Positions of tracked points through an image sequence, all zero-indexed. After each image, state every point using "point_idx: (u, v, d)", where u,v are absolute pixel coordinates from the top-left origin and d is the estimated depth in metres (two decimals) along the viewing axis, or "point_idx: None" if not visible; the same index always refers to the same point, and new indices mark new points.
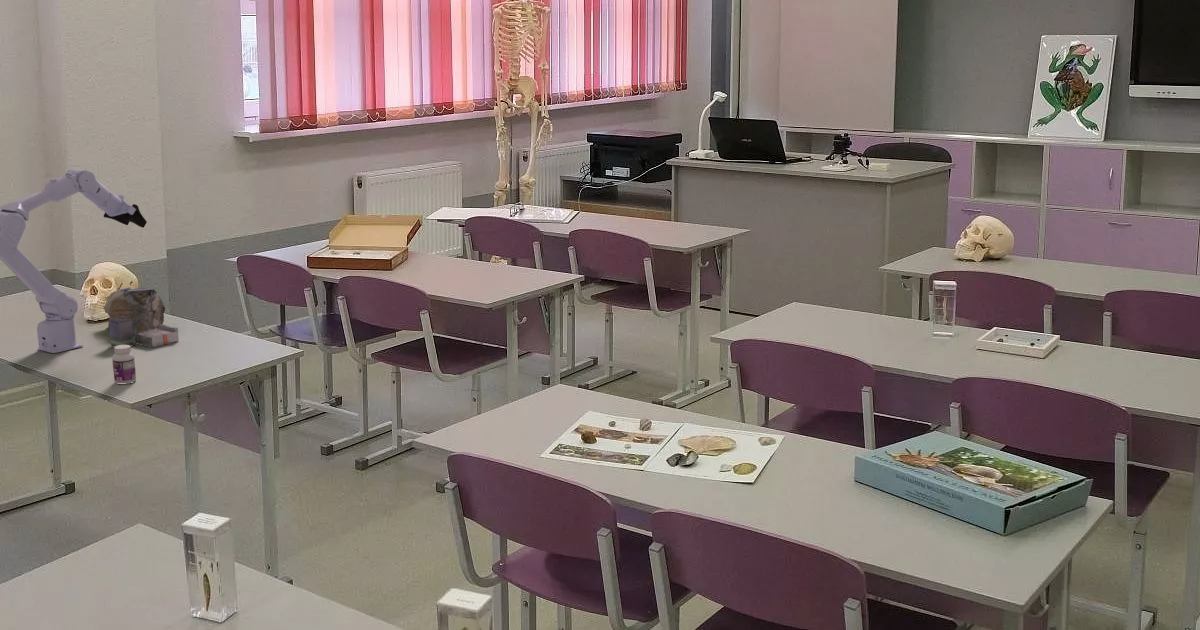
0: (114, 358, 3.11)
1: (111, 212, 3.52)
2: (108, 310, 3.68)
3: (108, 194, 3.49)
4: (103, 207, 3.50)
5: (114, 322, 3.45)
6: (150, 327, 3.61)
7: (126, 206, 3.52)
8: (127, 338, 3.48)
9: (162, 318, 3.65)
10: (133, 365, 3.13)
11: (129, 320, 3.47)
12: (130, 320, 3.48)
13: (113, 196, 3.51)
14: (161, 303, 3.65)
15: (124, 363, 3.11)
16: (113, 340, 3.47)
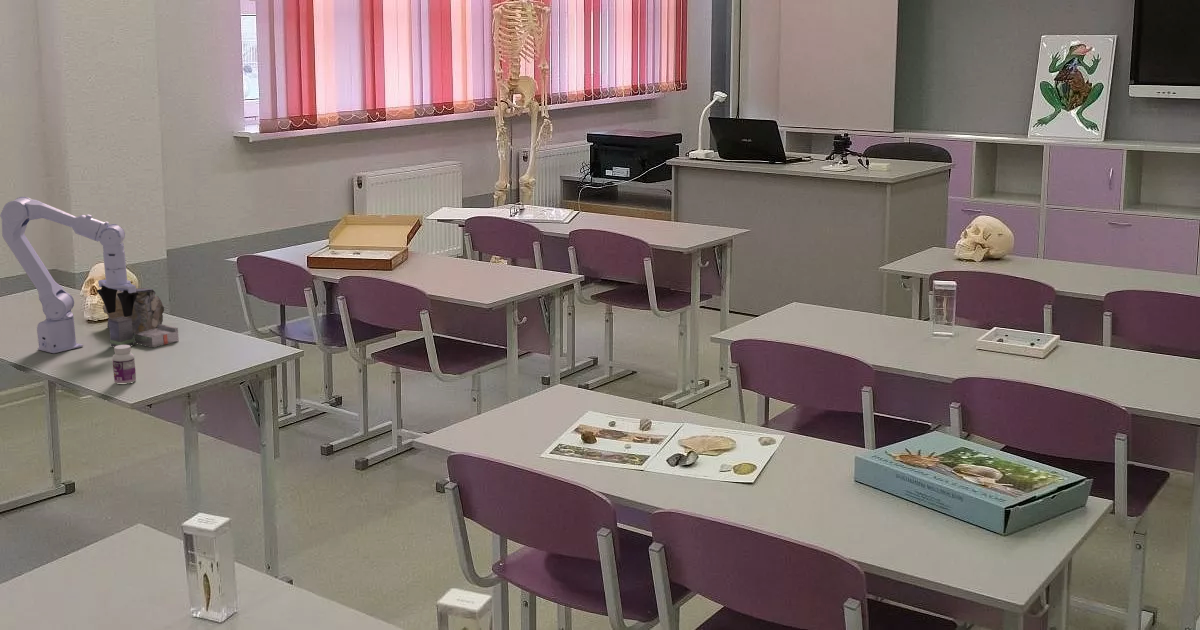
0: (114, 358, 3.11)
1: (112, 282, 3.42)
2: None
3: (116, 266, 3.41)
4: (110, 272, 3.41)
5: (114, 322, 3.45)
6: (149, 328, 3.61)
7: None
8: (127, 338, 3.48)
9: (161, 318, 3.65)
10: (133, 365, 3.13)
11: (129, 320, 3.47)
12: (130, 320, 3.48)
13: (125, 271, 3.44)
14: (160, 303, 3.64)
15: (124, 363, 3.11)
16: (113, 340, 3.47)
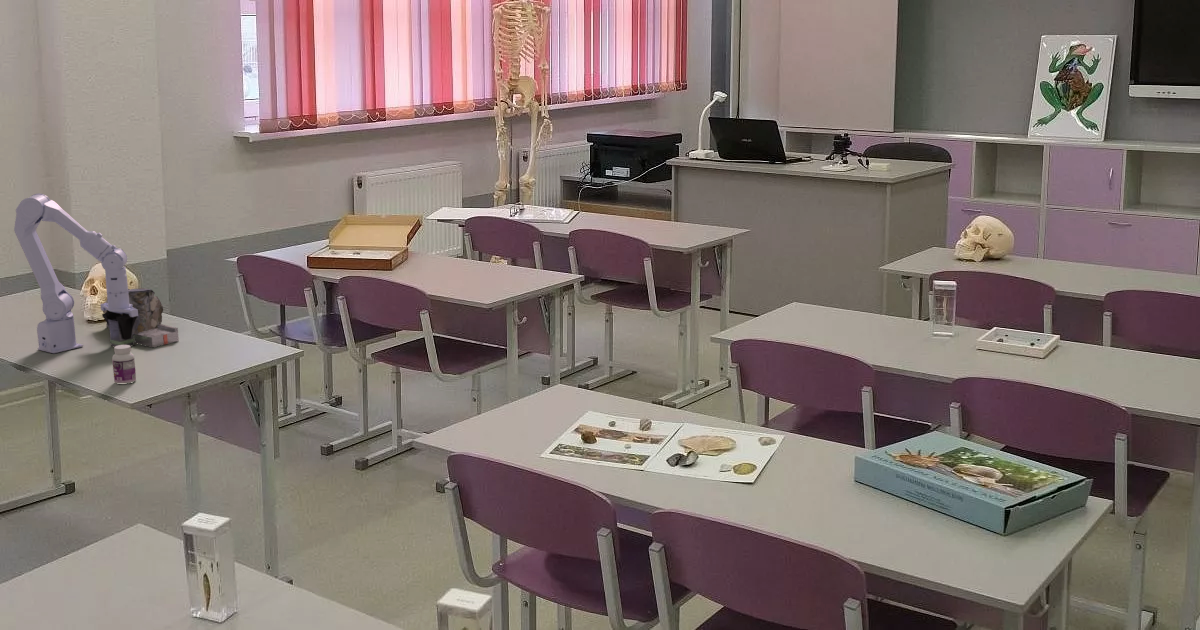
0: (114, 358, 3.11)
1: (114, 306, 3.44)
2: None
3: (118, 290, 3.43)
4: (112, 296, 3.43)
5: (114, 322, 3.45)
6: (148, 328, 3.61)
7: (131, 309, 3.44)
8: None
9: (160, 318, 3.65)
10: (133, 365, 3.13)
11: None
12: None
13: (127, 295, 3.46)
14: (159, 303, 3.64)
15: (124, 363, 3.11)
16: (113, 340, 3.47)
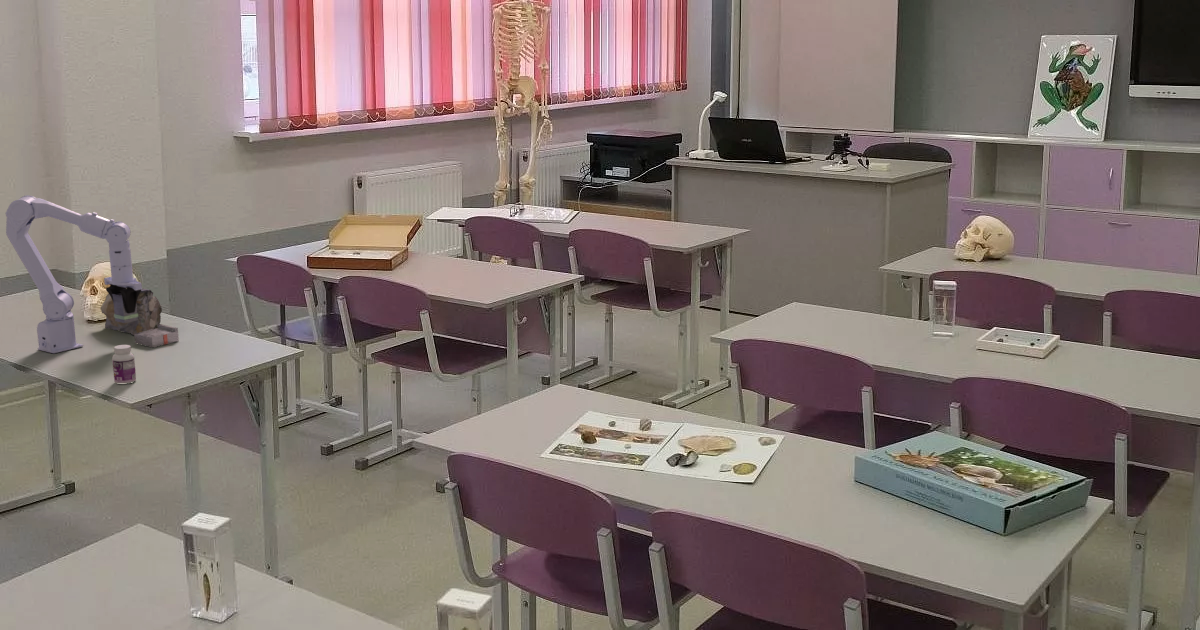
0: (114, 358, 3.11)
1: (118, 280, 3.42)
2: (105, 311, 3.67)
3: (122, 263, 3.42)
4: (115, 270, 3.42)
5: (118, 296, 3.44)
6: (146, 328, 3.60)
7: (135, 282, 3.43)
8: (131, 313, 3.47)
9: (159, 319, 3.64)
10: (133, 365, 3.13)
11: None
12: None
13: (131, 268, 3.44)
14: (158, 304, 3.64)
15: (124, 363, 3.11)
16: (117, 315, 3.46)
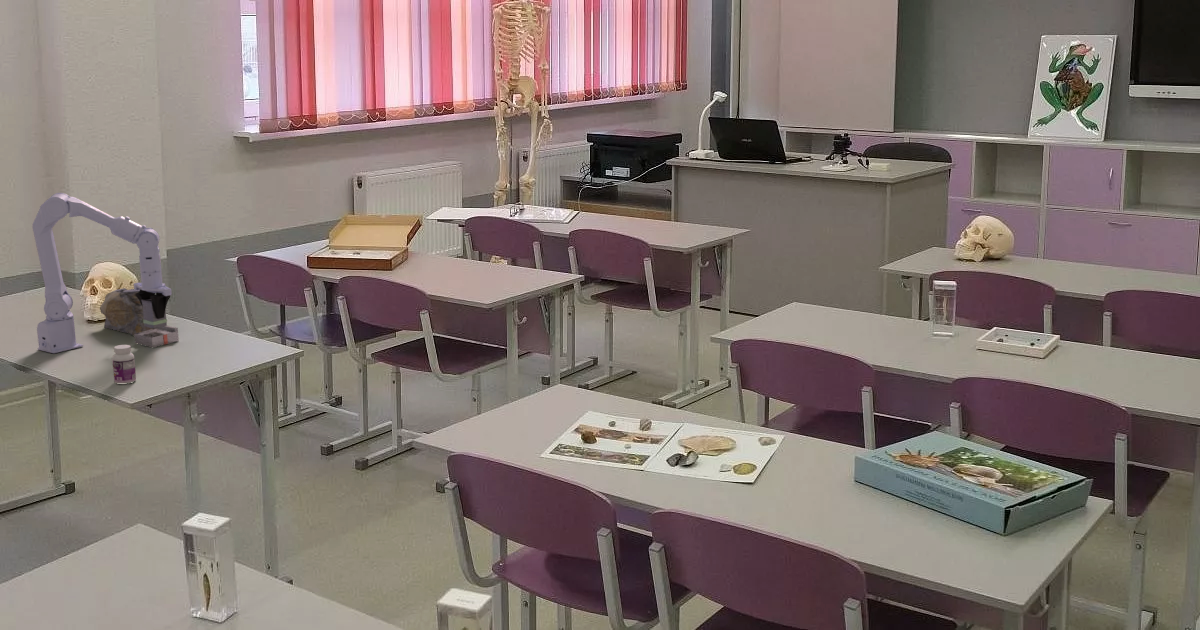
0: (114, 358, 3.11)
1: (148, 285, 3.46)
2: (104, 311, 3.67)
3: (153, 269, 3.45)
4: (146, 276, 3.46)
5: (147, 302, 3.48)
6: (146, 328, 3.60)
7: None
8: (160, 318, 3.50)
9: None
10: (133, 365, 3.13)
11: None
12: None
13: (160, 274, 3.48)
14: None
15: (124, 363, 3.11)
16: (146, 320, 3.50)
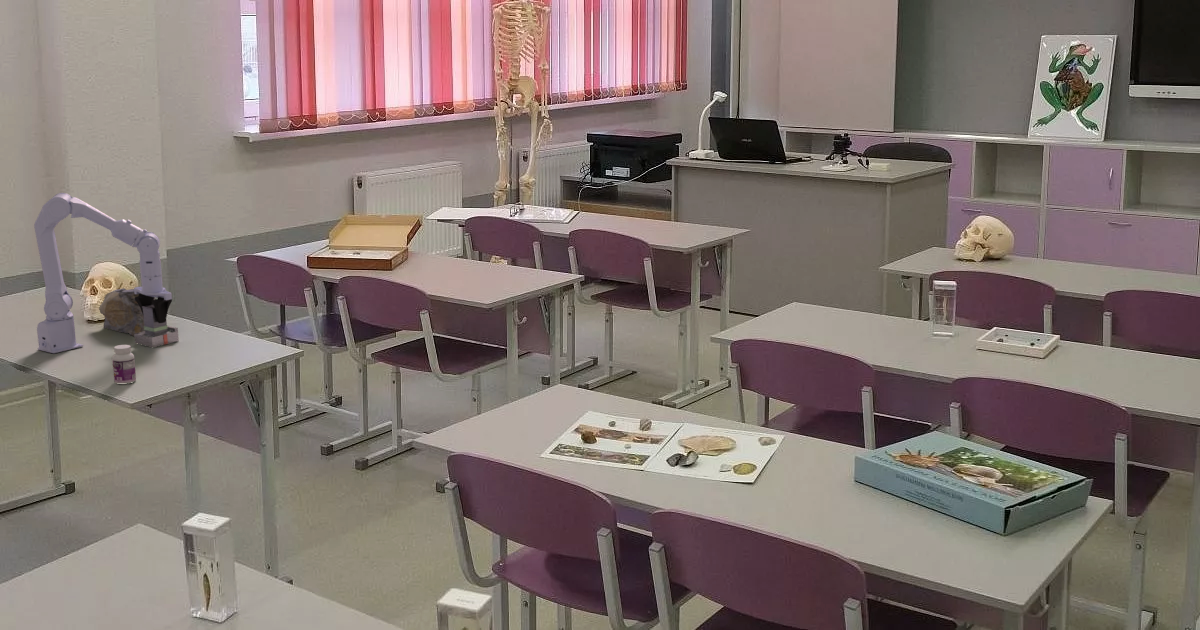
0: (114, 358, 3.11)
1: (148, 290, 3.46)
2: (103, 311, 3.67)
3: (153, 274, 3.46)
4: (146, 280, 3.46)
5: (148, 309, 3.48)
6: None
7: None
8: (161, 325, 3.51)
9: None
10: (133, 365, 3.13)
11: None
12: None
13: (161, 278, 3.48)
14: None
15: (124, 363, 3.11)
16: (147, 326, 3.50)
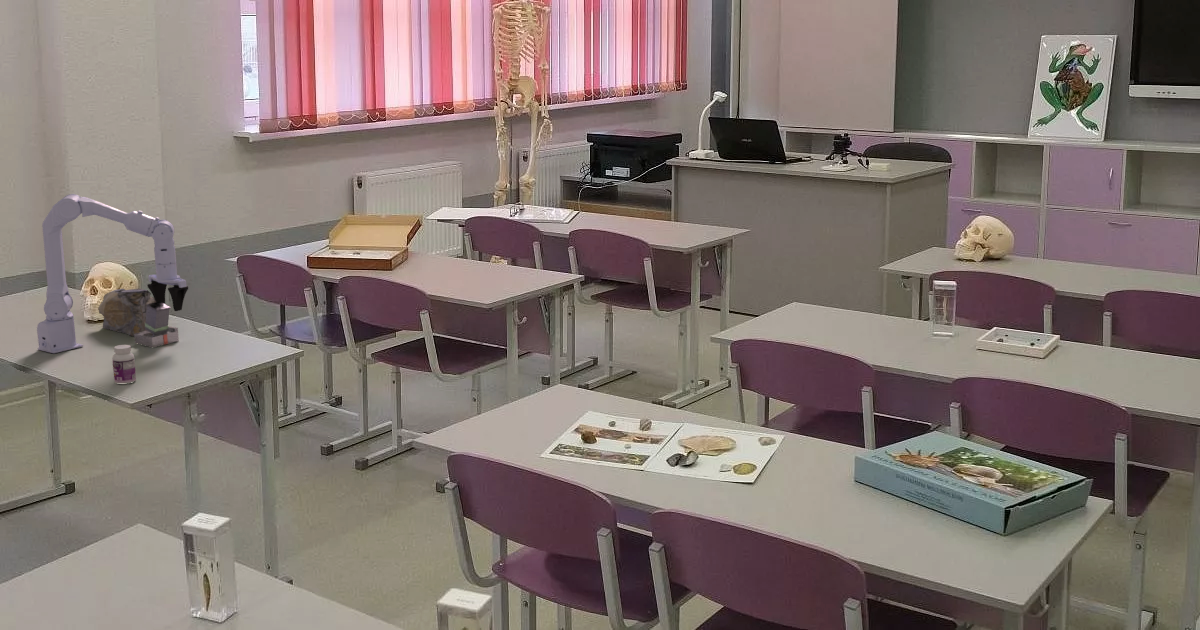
0: (114, 358, 3.11)
1: (162, 277, 3.46)
2: (102, 311, 3.67)
3: (168, 261, 3.46)
4: (160, 267, 3.46)
5: (152, 309, 3.47)
6: (144, 328, 3.60)
7: (179, 280, 3.47)
8: (162, 325, 3.50)
9: None
10: (133, 365, 3.13)
11: (167, 308, 3.50)
12: (168, 308, 3.50)
13: (175, 266, 3.48)
14: None
15: (124, 363, 3.11)
16: (148, 325, 3.50)
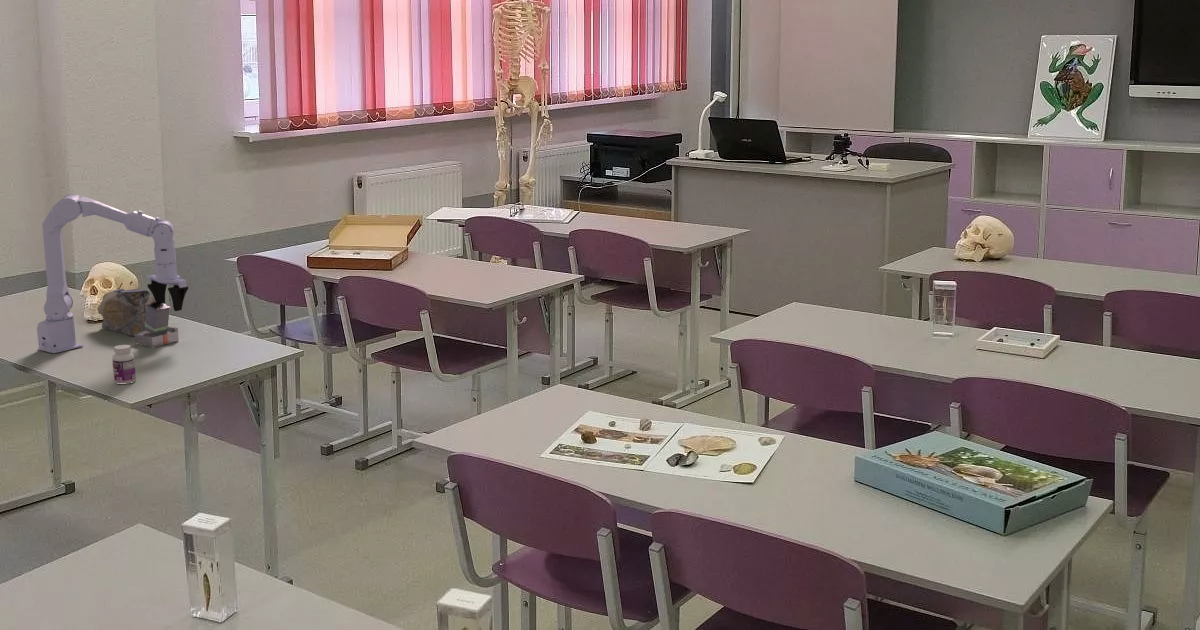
0: (114, 358, 3.11)
1: (162, 277, 3.46)
2: (102, 311, 3.67)
3: (168, 261, 3.46)
4: (160, 267, 3.46)
5: (152, 309, 3.47)
6: (143, 329, 3.60)
7: (179, 280, 3.47)
8: (162, 325, 3.50)
9: None
10: (133, 365, 3.13)
11: (167, 308, 3.50)
12: (168, 308, 3.50)
13: (175, 266, 3.48)
14: None
15: (124, 363, 3.11)
16: (148, 325, 3.50)
